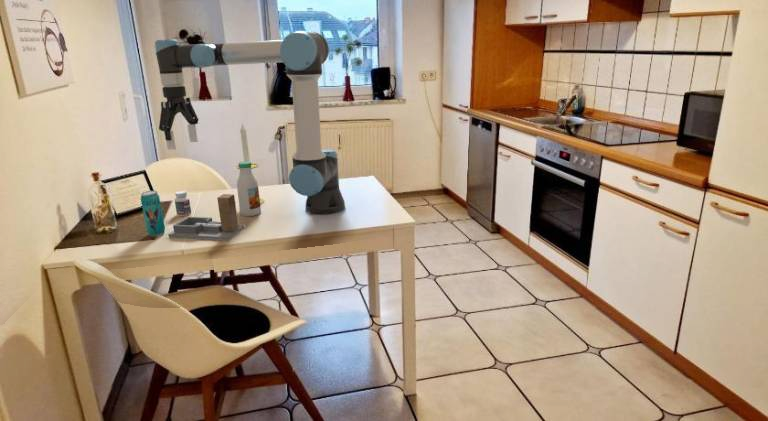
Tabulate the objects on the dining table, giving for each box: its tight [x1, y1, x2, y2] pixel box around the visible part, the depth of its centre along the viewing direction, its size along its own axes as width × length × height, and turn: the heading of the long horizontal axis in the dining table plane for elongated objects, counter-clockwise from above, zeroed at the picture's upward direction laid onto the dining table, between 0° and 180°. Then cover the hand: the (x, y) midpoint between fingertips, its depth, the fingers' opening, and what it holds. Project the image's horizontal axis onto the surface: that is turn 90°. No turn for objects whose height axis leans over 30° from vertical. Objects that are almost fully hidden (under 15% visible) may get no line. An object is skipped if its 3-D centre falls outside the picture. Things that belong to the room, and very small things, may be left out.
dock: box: [167, 216, 245, 241], centre depth 173 cm, size 22×12×4 cm, turn 78°
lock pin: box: [194, 193, 239, 232], centre depth 171 cm, size 15×4×12 cm, turn 78°
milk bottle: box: [236, 161, 262, 217], centre depth 189 cm, size 8×8×20 cm
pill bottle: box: [174, 190, 192, 217], centre depth 193 cm, size 5×5×9 cm
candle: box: [236, 123, 265, 205], centre depth 200 cm, size 10×10×32 cm
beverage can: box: [140, 190, 166, 238], centre depth 171 cm, size 6×6×15 cm
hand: (183, 145), depth 183 cm, fingers open, 13 cm apart
